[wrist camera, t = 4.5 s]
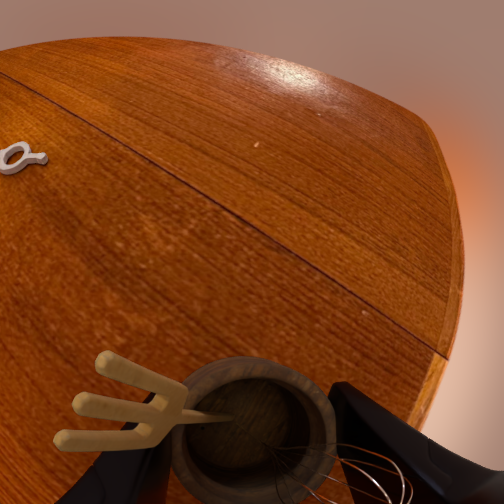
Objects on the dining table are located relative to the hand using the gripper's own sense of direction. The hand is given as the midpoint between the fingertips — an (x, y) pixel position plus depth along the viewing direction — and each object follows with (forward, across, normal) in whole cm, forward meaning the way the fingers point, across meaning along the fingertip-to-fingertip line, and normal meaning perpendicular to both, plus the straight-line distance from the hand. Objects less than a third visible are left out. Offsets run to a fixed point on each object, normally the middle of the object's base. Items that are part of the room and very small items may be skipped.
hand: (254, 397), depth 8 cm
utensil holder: (+4, 0, +6) cm, 7 cm away
